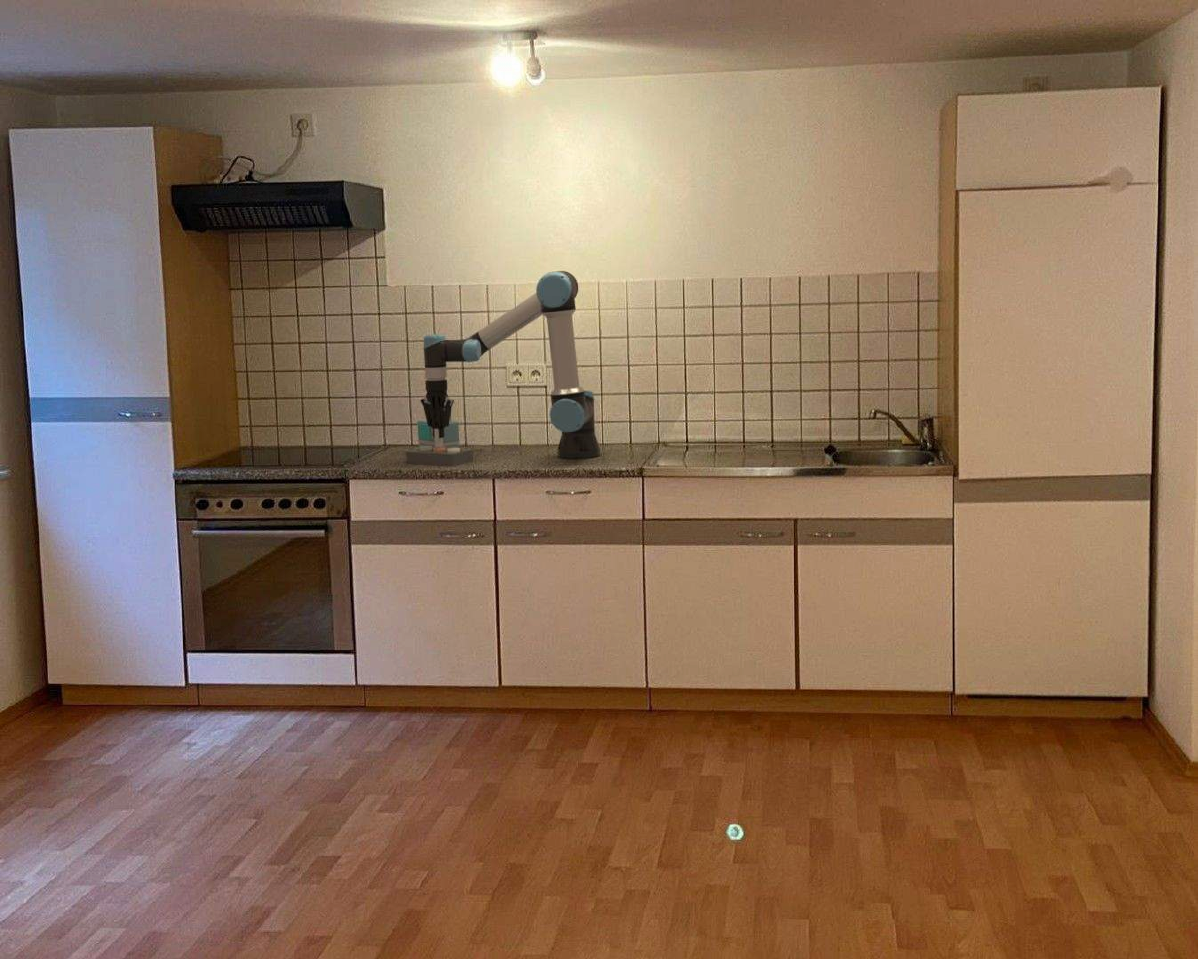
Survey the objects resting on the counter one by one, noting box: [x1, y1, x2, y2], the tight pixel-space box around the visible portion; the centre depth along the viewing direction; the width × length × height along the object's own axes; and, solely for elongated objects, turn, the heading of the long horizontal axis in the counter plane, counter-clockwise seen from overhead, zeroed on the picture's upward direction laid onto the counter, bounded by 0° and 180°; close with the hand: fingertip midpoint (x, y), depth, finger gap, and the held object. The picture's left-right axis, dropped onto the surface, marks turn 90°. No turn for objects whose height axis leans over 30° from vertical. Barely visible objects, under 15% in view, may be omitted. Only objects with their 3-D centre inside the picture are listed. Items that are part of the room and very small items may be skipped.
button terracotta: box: [433, 447, 446, 452], centre depth 511 cm, size 4×4×2 cm
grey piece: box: [405, 447, 475, 467], centre depth 511 cm, size 20×12×4 cm, turn 59°
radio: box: [416, 414, 461, 449], centre depth 530 cm, size 16×9×20 cm, turn 37°
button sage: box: [418, 446, 432, 451], centre depth 514 cm, size 4×4×2 cm
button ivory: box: [447, 448, 461, 453], centre depth 508 cm, size 4×4×2 cm
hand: (439, 446), depth 510 cm, fingers closed
